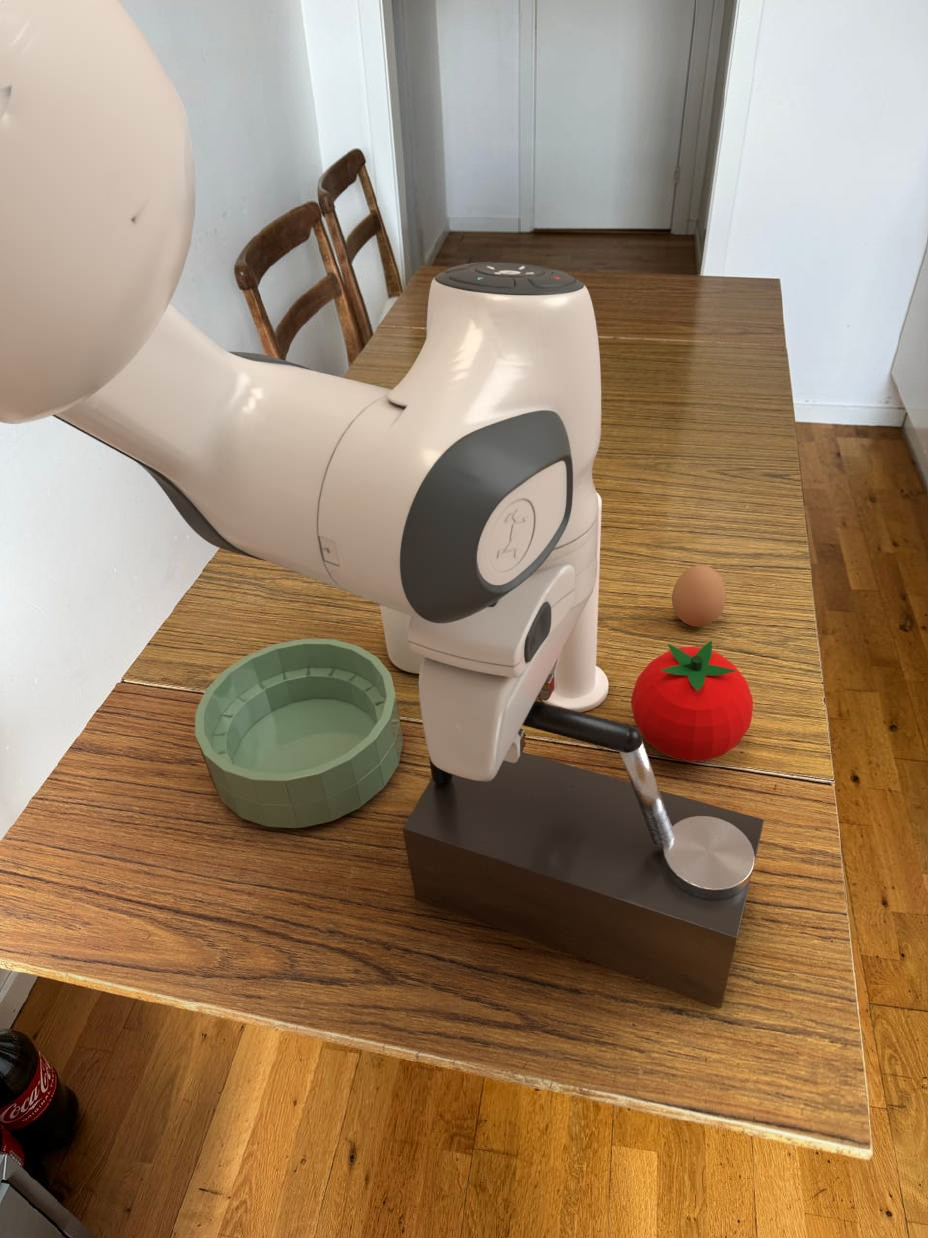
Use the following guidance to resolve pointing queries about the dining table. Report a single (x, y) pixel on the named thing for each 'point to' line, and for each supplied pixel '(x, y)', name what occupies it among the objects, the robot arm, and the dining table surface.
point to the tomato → (692, 704)
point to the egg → (699, 596)
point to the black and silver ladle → (656, 808)
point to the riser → (574, 871)
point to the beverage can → (399, 640)
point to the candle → (582, 656)
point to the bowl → (300, 732)
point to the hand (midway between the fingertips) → (525, 721)
